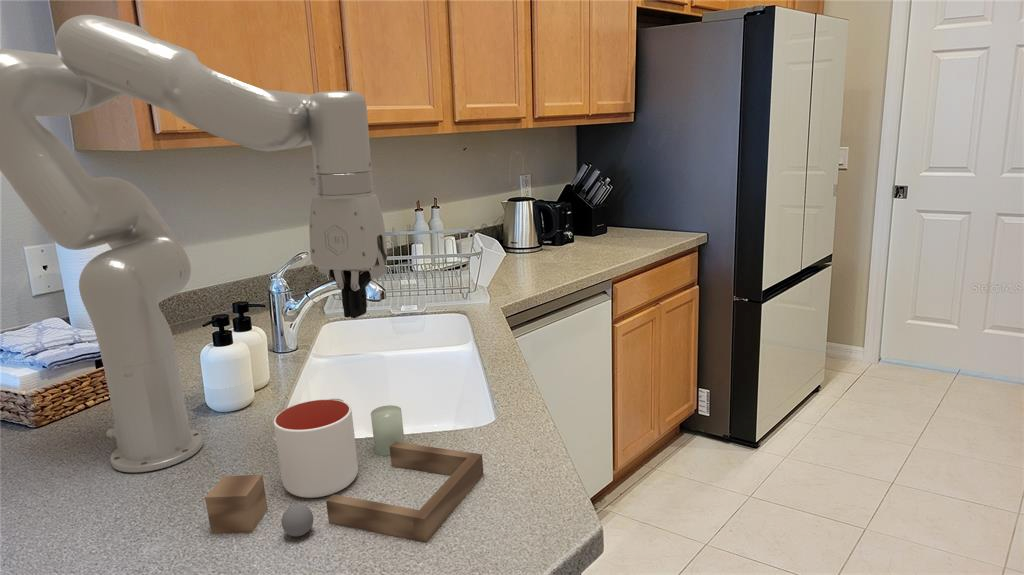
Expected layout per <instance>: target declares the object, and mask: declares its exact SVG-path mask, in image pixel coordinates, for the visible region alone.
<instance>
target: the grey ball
mask: <svg viewBox="0 0 1024 575" xmlns="http://www.w3.org/2000/svg"><path fill="white" fill-rule="evenodd" d="M313 524H314V515H313V512H312V510H311V509H310V508H309V507H308V506H306V505H304V504H299V503H298V504H293V505H291V506H290V507H288V508H287V509H286V510H285V511H284V513H283V514H282V517H281V527H282V529H283V531H284V532H285V534H287V535H289V536H291V537H301V536H304V535H306V534H307V533H308V532H309V531H310V530H311V529H312V527H313Z"/></svg>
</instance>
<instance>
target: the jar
mask: <svg viewBox="0 0 1024 575" xmlns="http://www.w3.org/2000/svg"><path fill="white" fill-rule="evenodd" d="M402 413H403V412H402V407H400V406H397V405H392V404H391V405H390V404H389V405H383V406H379V407H377V408H374V409H373V410H371V411H370V418H371V427H372V429H371V430H372V435H373V438H372V439H373V444H374V445H373V446H374V453H375V454H376V455H378V456H380V457H391V456H390V446H391V445H392V444H393V443H394V442H400V443H406V442H405V433H404V424H403V414H402Z"/></svg>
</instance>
